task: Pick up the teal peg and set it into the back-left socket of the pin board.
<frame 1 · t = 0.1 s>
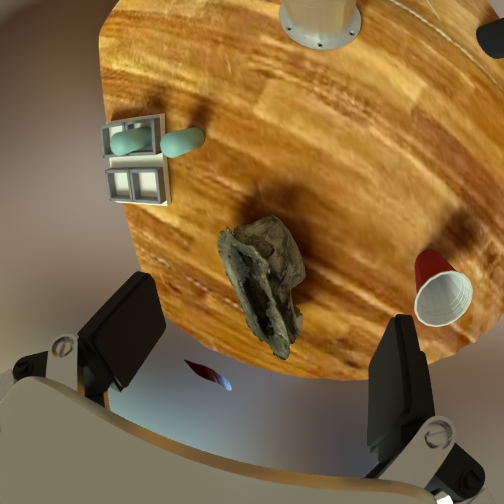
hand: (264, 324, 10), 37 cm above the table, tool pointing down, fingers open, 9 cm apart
pin board: (138, 160, 49), on the table
black water bottle: (489, 42, 19), on the table
hollow geode rock: (272, 273, 54), on the table
teal peg: (194, 138, 44), on the table
plastic cup: (426, 261, 44), on the table
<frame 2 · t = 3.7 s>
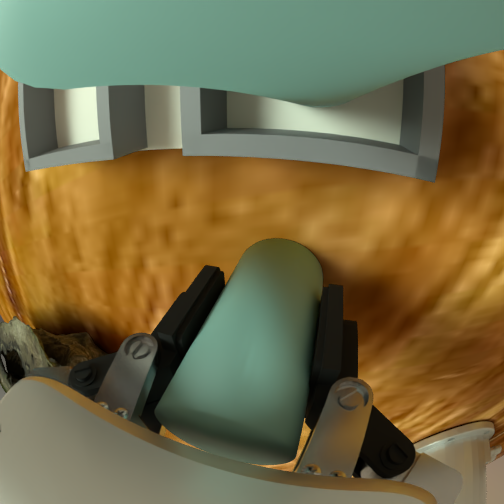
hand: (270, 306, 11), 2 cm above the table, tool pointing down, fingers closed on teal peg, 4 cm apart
hollow geode rock: (62, 336, 26), on the table
teal peg: (280, 277, 13), on the table, touching gripper
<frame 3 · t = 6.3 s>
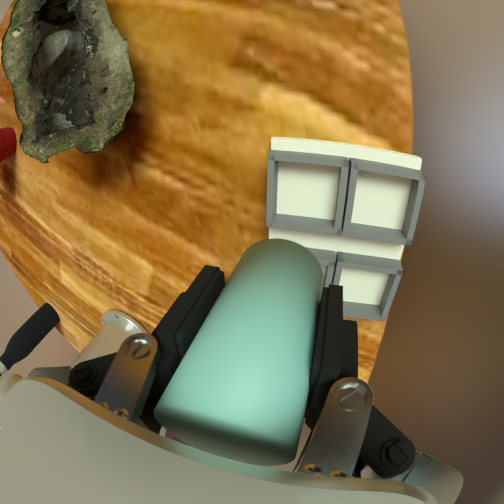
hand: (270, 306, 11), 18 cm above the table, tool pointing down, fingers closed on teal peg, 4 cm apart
pin board: (338, 230, 27), on the table
black water bottle: (52, 311, 57), on the table
hollow geode rock: (103, 52, 23), on the table
teal peg: (279, 277, 13), point 16 cm above the table, touching gripper
plastic cup: (12, 141, 33), on the table
when the fingers open (4 cm above the table, at t = 9.1 s): teal peg stays where it is, resting on pin board.
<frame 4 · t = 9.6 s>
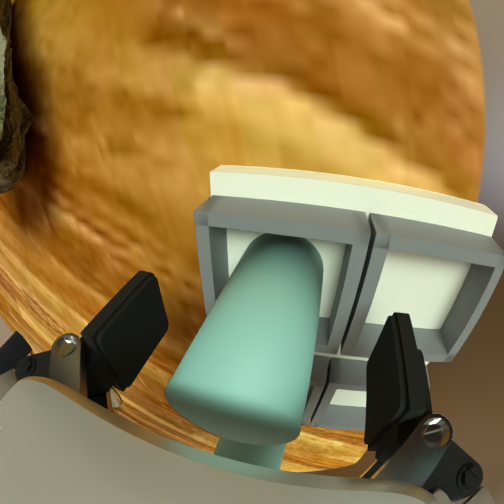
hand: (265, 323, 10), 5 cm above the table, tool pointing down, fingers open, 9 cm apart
pin board: (336, 322, 16), on the table
black water bottle: (24, 340, 46), on the table
hollow geode rock: (15, 56, 12), on the table
teal peg: (282, 268, 13), point 2 cm above the table, touching pin board
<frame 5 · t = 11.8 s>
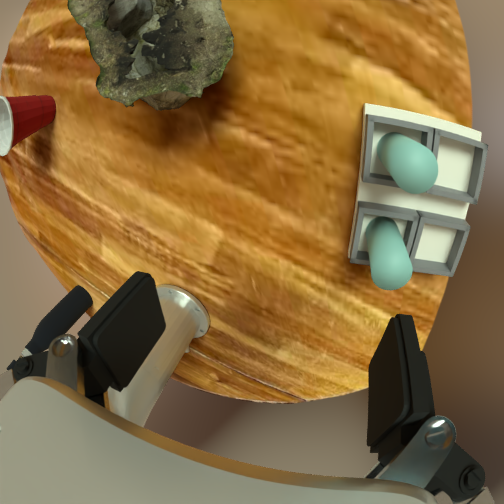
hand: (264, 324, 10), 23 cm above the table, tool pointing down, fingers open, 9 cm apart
pin board: (415, 191, 26), on the table
black water bottle: (84, 294, 59), on the table
hollow geode rock: (174, 15, 22), on the table
teal peg: (395, 150, 23), point 2 cm above the table, touching pin board
plastic cup: (49, 109, 34), on the table
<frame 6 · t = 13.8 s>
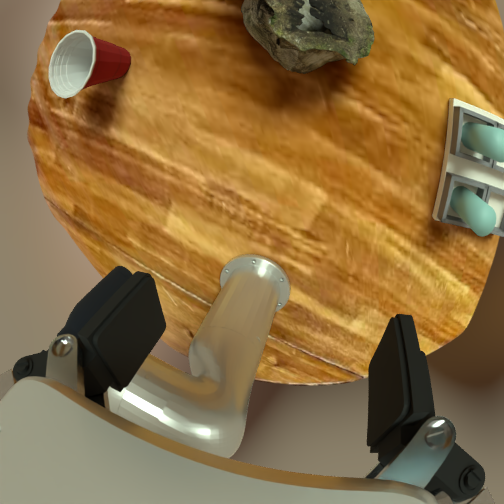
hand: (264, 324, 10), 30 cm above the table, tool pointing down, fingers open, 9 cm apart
pin board: (479, 169, 27), on the table
black water bottle: (125, 276, 58), on the table
teal peg: (471, 136, 25), point 2 cm above the table, touching pin board
plastic cup: (120, 64, 33), on the table
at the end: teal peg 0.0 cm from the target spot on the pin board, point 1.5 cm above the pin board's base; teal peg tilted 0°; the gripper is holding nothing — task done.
